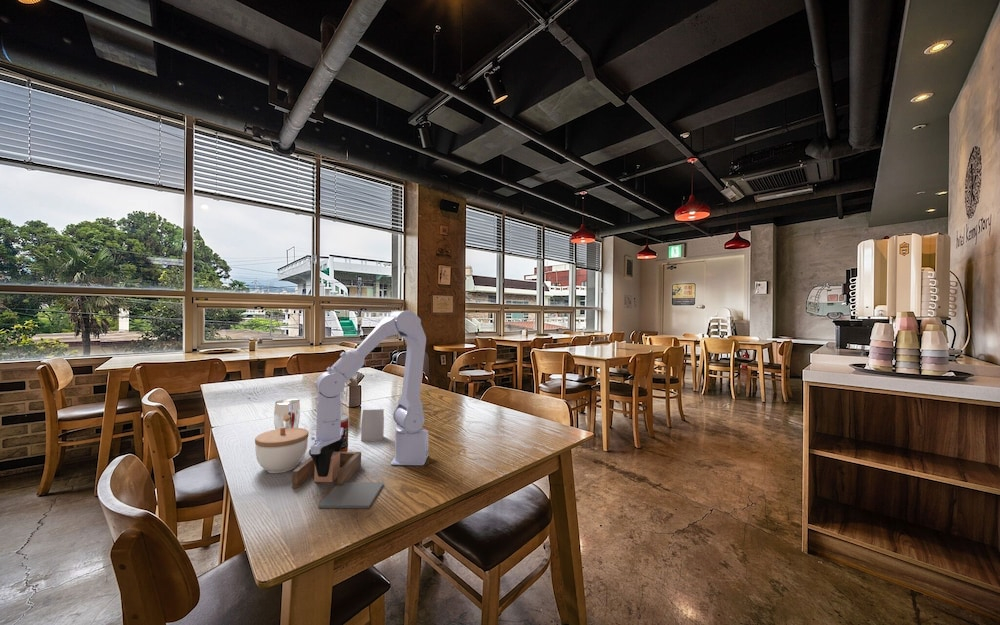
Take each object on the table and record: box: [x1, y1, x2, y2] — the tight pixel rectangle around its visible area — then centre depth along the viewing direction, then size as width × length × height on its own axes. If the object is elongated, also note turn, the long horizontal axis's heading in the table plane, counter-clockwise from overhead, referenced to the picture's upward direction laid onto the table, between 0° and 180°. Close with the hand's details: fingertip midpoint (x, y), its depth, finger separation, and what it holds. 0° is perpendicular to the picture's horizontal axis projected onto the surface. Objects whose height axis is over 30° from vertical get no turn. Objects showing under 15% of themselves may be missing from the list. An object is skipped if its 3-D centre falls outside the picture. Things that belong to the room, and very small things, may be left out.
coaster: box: [317, 481, 385, 509], centre depth 85 cm, size 11×11×1 cm
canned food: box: [340, 414, 349, 452], centre depth 110 cm, size 8×8×11 cm
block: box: [313, 452, 341, 483], centre depth 94 cm, size 4×4×6 cm
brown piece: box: [291, 451, 362, 489], centre depth 95 cm, size 12×13×4 cm
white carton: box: [273, 398, 301, 430], centre depth 112 cm, size 7×7×15 cm
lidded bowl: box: [254, 427, 309, 474], centre depth 99 cm, size 13×13×11 cm
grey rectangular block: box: [360, 408, 385, 442], centre depth 124 cm, size 4×7×10 cm, turn 101°
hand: (327, 471), depth 94 cm, fingers closed on block, 4 cm apart
